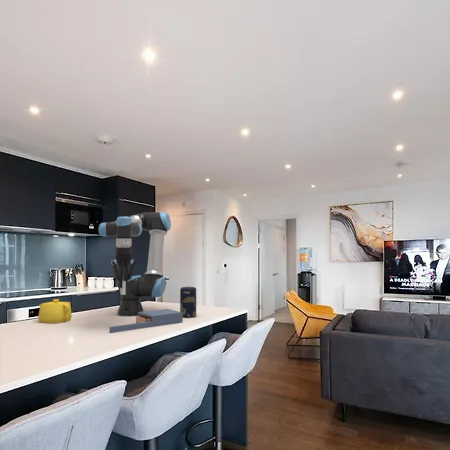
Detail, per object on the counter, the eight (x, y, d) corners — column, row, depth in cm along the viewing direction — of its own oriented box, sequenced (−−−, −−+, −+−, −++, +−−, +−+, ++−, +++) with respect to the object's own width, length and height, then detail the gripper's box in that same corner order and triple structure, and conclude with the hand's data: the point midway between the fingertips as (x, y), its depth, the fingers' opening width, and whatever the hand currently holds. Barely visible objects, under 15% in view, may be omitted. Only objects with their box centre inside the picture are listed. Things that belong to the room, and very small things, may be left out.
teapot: (30, 322, 187) (31, 299, 188) (48, 318, 199) (49, 297, 200) (59, 324, 181) (60, 301, 182) (76, 320, 192) (77, 298, 193)
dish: (136, 323, 183) (136, 316, 183) (162, 319, 193) (162, 313, 194) (146, 326, 175) (146, 319, 175) (173, 322, 185) (173, 316, 185)
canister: (197, 315, 208) (197, 285, 210) (194, 318, 199) (194, 286, 200) (181, 315, 209) (182, 284, 211) (178, 317, 200) (178, 286, 201)
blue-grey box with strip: (97, 327, 173) (98, 316, 173) (166, 318, 198) (167, 308, 198) (110, 332, 160) (111, 321, 161) (182, 322, 186) (182, 312, 186)
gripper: (114, 247, 169) (113, 296, 167) (139, 247, 177) (138, 293, 175) (108, 247, 174) (107, 294, 173) (132, 247, 183) (131, 292, 181)
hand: (122, 294), depth 174 cm, fingers closed
